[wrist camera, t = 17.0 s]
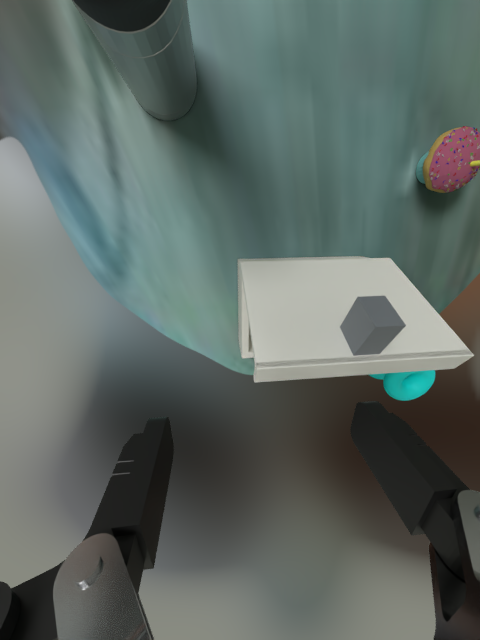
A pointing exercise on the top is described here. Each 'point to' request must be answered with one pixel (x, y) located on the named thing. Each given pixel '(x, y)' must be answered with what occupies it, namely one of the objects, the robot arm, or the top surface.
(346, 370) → the lid
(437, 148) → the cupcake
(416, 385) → the donuts
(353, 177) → the top surface
